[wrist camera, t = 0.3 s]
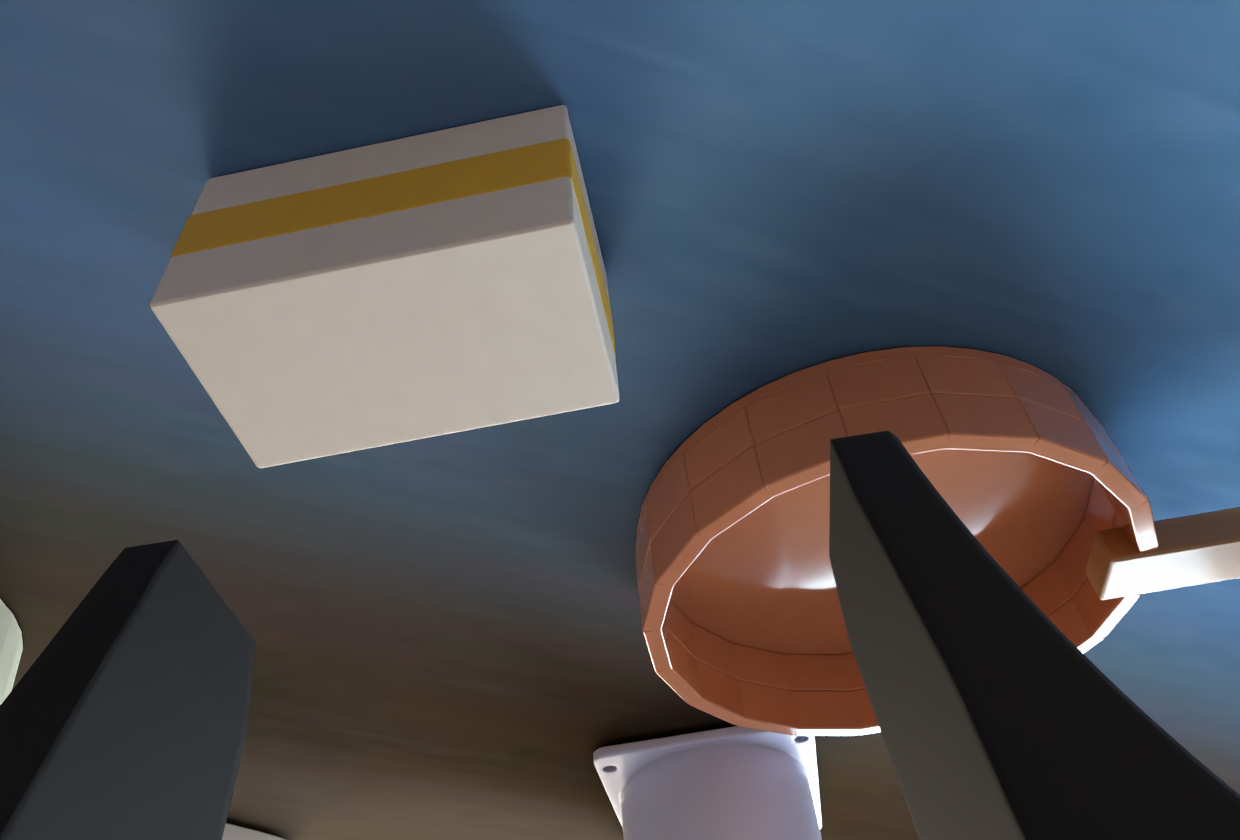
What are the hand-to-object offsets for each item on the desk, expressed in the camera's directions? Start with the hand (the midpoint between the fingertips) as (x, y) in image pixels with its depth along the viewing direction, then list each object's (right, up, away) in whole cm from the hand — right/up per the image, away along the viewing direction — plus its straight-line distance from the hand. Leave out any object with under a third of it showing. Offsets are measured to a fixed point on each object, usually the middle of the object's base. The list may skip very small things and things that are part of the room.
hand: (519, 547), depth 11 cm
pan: (+8, -2, +16) cm, 18 cm away
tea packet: (-3, +5, +9) cm, 10 cm away
